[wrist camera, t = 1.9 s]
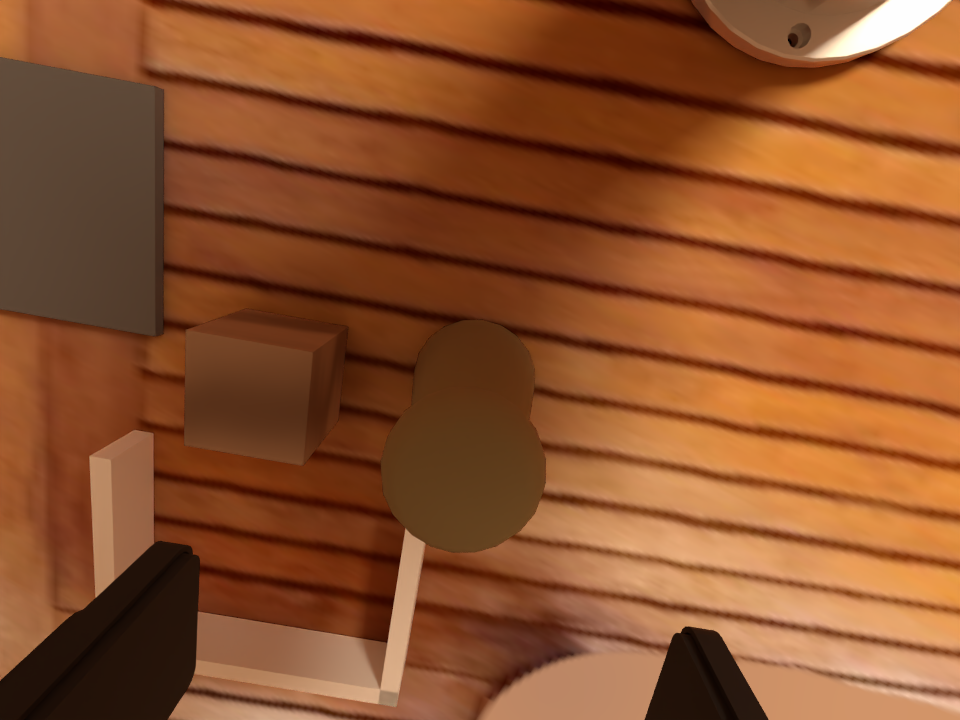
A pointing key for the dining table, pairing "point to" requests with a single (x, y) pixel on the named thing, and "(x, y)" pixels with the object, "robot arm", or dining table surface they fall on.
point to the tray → (240, 642)
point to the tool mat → (81, 197)
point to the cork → (466, 441)
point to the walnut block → (263, 385)
